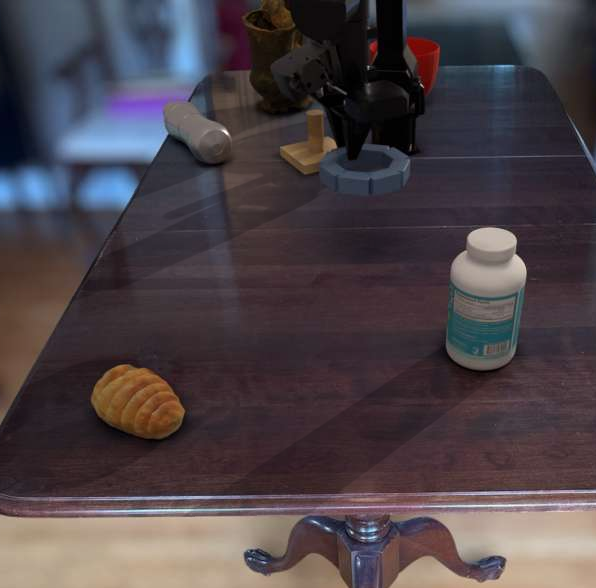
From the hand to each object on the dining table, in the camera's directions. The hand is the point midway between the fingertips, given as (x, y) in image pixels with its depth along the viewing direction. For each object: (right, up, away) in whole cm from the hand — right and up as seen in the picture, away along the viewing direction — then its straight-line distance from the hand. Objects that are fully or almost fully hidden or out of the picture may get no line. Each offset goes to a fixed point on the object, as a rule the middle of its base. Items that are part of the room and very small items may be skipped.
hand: (347, 156), depth 88 cm
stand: (-6, +10, +28) cm, 30 cm away
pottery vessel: (-14, +27, +49) cm, 58 cm away
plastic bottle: (-21, +10, +23) cm, 33 cm away
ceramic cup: (+7, +27, +49) cm, 56 cm away
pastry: (-19, -32, -19) cm, 41 cm away
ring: (+2, -3, -2) cm, 4 cm away
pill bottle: (+15, -25, -12) cm, 31 cm away
